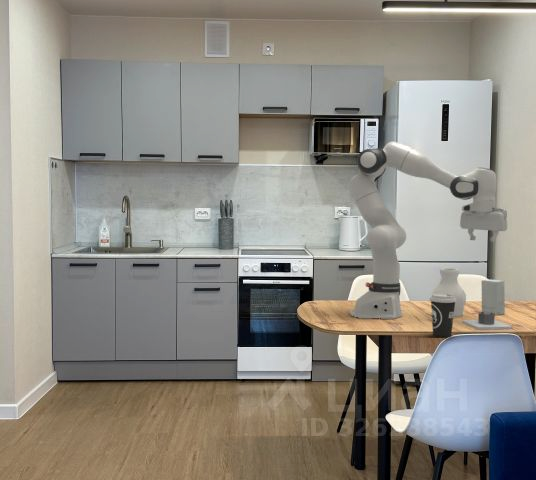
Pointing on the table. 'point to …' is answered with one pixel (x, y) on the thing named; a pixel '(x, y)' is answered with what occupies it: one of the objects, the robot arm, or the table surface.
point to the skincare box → (493, 296)
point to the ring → (486, 318)
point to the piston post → (486, 327)
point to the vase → (452, 289)
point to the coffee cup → (442, 313)
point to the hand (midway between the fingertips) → (482, 241)
